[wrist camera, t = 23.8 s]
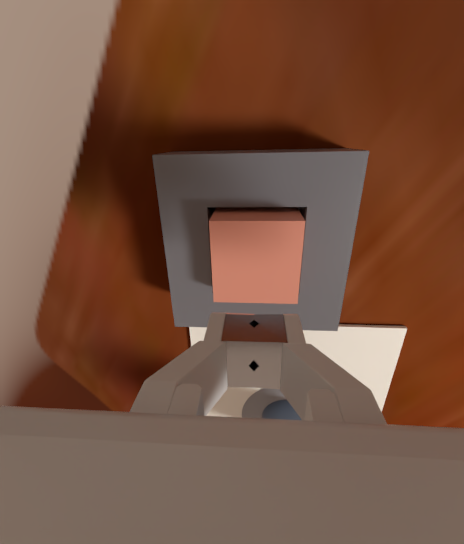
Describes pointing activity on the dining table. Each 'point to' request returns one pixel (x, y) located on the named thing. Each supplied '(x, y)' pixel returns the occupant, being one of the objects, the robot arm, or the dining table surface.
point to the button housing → (260, 193)
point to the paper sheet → (339, 348)
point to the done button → (256, 254)
